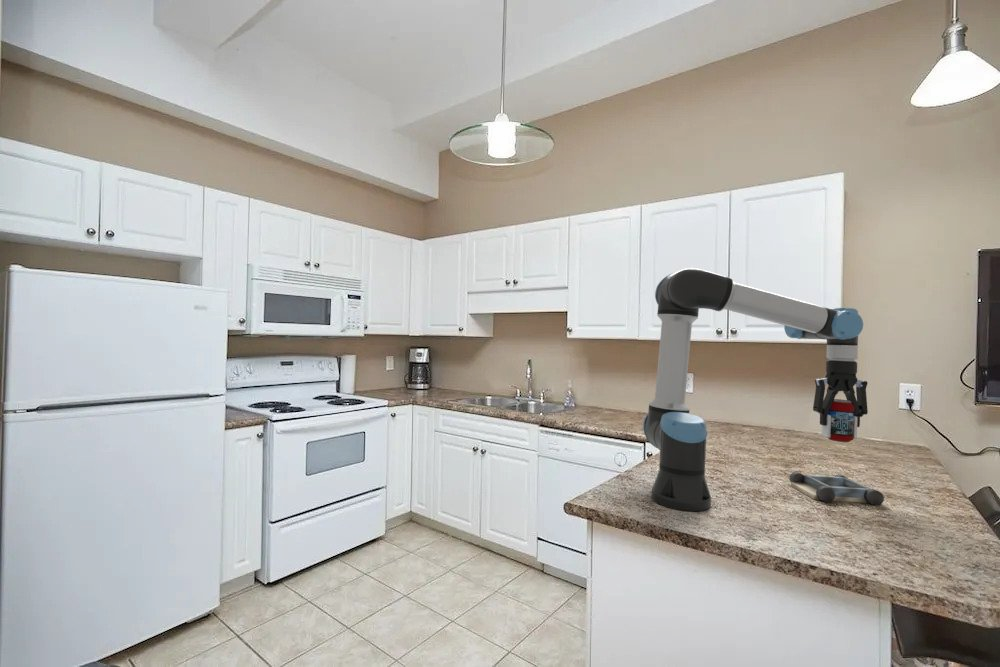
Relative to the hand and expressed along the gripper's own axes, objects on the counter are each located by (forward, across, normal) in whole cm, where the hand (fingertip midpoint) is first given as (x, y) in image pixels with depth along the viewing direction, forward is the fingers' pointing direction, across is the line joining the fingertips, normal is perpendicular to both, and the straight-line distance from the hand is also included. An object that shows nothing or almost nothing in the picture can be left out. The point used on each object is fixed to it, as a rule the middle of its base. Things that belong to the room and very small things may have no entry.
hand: (839, 437), depth 139 cm
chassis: (+17, +1, 0) cm, 17 cm away
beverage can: (+1, 0, 0) cm, 1 cm away
